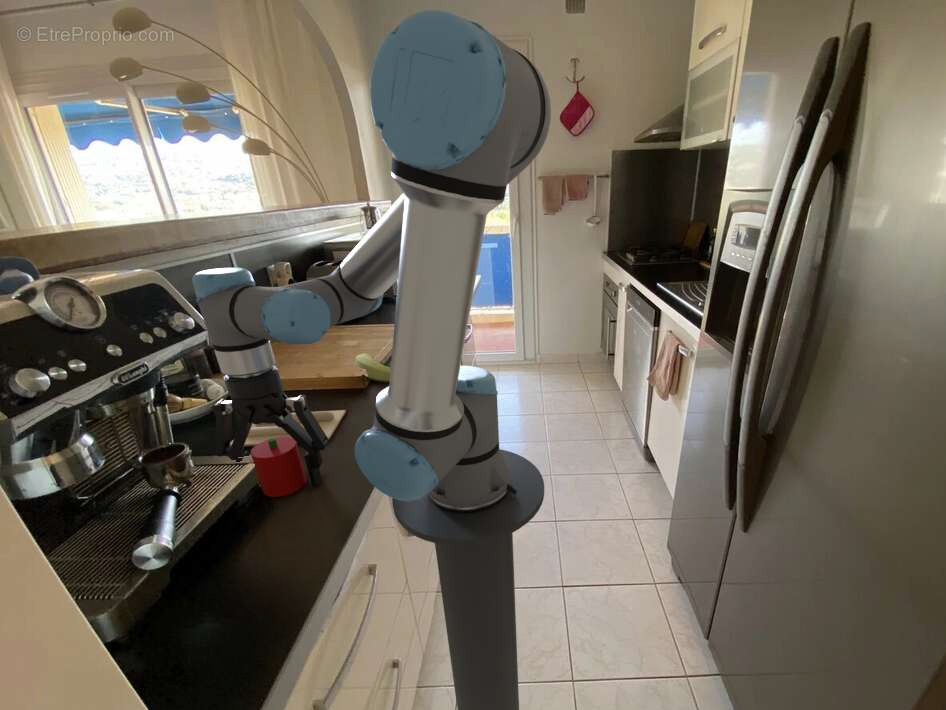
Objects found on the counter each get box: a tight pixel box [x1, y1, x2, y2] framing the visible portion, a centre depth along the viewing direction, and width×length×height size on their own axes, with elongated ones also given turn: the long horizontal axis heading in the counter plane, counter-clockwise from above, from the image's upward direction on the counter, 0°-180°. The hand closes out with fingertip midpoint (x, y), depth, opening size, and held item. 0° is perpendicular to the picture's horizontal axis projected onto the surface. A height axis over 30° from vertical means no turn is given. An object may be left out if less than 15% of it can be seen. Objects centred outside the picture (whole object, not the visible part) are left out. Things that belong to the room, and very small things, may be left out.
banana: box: [354, 352, 391, 383], centre depth 129 cm, size 14×6×20 cm
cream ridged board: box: [230, 409, 347, 447], centre depth 99 cm, size 20×14×2 cm
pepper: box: [250, 437, 307, 498], centre depth 78 cm, size 7×7×9 cm
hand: (284, 483), depth 80 cm, fingers open, 10 cm apart
